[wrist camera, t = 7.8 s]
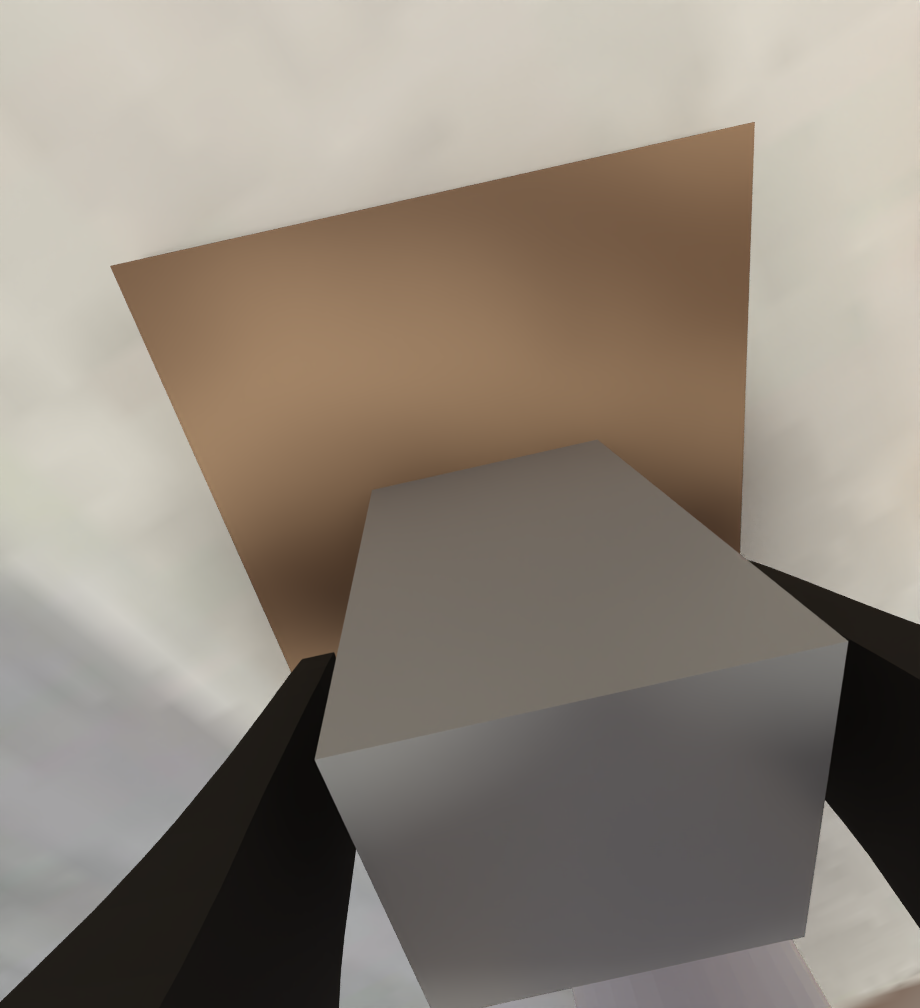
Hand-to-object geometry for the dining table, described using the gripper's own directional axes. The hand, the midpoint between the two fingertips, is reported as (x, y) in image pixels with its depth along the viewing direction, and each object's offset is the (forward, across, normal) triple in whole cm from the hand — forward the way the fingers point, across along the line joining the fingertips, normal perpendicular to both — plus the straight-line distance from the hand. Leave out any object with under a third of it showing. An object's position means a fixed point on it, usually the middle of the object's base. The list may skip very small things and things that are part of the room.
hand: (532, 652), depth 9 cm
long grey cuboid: (+3, 0, 0) cm, 3 cm away
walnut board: (+4, 0, 0) cm, 4 cm away
